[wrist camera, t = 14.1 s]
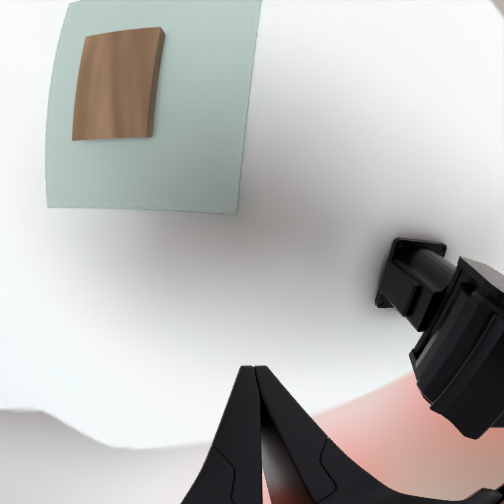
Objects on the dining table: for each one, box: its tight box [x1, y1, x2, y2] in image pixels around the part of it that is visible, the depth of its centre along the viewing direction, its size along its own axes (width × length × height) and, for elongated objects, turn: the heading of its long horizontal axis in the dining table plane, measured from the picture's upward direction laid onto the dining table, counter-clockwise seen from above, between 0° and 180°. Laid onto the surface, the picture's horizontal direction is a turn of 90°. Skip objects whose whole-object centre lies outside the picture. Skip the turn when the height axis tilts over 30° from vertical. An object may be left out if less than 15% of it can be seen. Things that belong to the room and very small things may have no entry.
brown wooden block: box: [72, 27, 165, 141], centre depth 13 cm, size 2×7×5 cm
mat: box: [45, 0, 261, 214], centre depth 14 cm, size 14×16×1 cm
